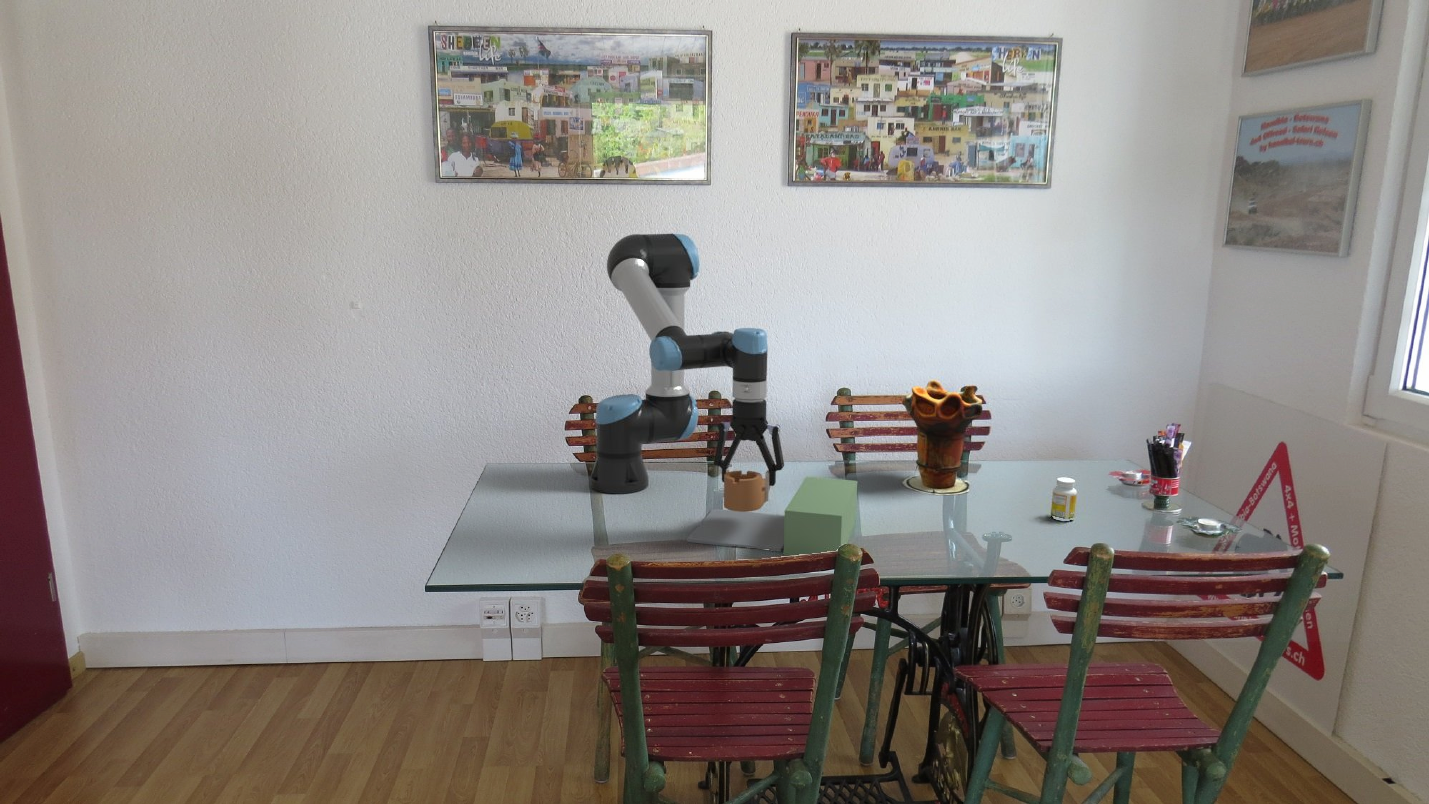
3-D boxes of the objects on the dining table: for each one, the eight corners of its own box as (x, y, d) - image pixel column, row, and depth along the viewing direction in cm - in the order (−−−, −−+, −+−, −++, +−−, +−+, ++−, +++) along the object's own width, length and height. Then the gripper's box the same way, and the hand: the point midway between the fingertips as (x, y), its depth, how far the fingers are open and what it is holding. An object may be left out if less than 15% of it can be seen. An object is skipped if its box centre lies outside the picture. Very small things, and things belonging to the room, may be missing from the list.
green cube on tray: (684, 544, 209) (684, 500, 207) (715, 508, 233) (715, 468, 231) (840, 561, 200) (841, 515, 198) (855, 522, 225) (857, 480, 223)
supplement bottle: (1054, 522, 226) (1058, 482, 224) (1047, 514, 231) (1050, 476, 229) (1077, 522, 226) (1081, 483, 224) (1069, 514, 231) (1073, 476, 229)
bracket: (756, 513, 206) (757, 481, 205) (719, 509, 208) (719, 478, 207) (774, 490, 223) (774, 461, 222) (739, 487, 225) (739, 458, 224)
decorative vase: (981, 474, 263) (987, 375, 255) (974, 503, 242) (981, 396, 234) (904, 467, 269) (908, 370, 262) (891, 495, 248) (895, 390, 241)
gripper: (698, 399, 211) (698, 498, 215) (793, 404, 206) (791, 506, 210) (707, 393, 218) (707, 489, 223) (799, 398, 213) (797, 496, 217)
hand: (748, 497), depth 216 cm, fingers closed on bracket, 8 cm apart
